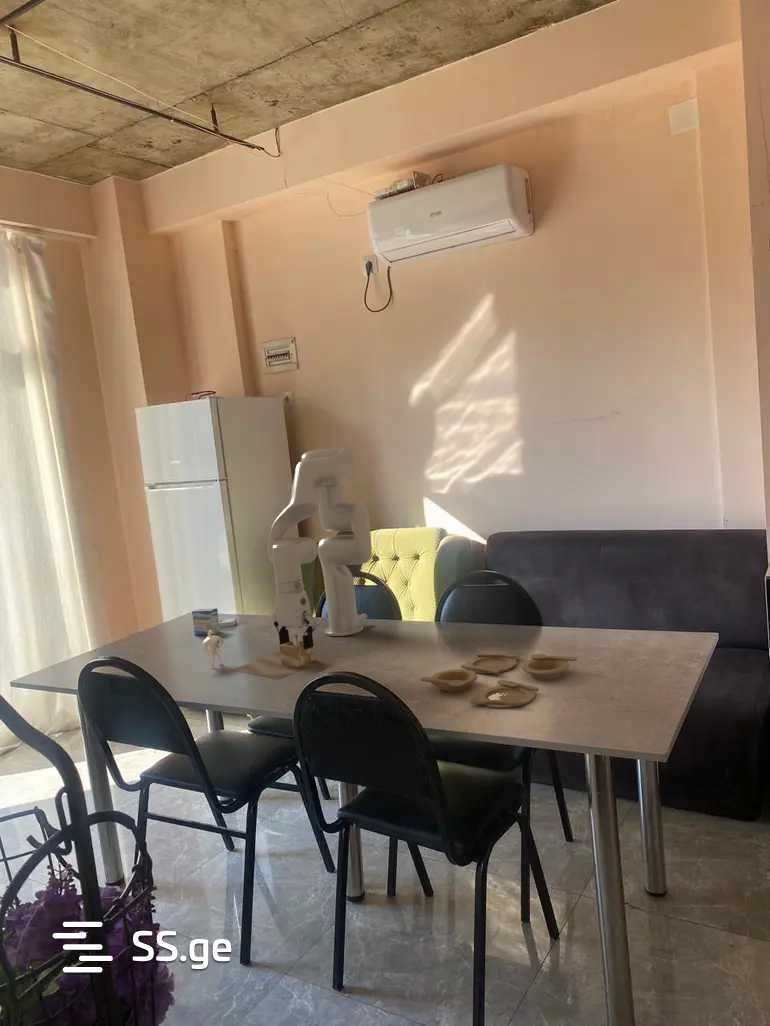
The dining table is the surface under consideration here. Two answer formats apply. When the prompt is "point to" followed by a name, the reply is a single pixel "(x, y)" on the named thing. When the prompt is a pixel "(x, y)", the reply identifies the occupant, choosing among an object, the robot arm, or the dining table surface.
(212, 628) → the medicine box
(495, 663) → the tableware set
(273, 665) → the wooden peg base
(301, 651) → the wooden cube
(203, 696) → the dining table surface
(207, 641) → the figurine
